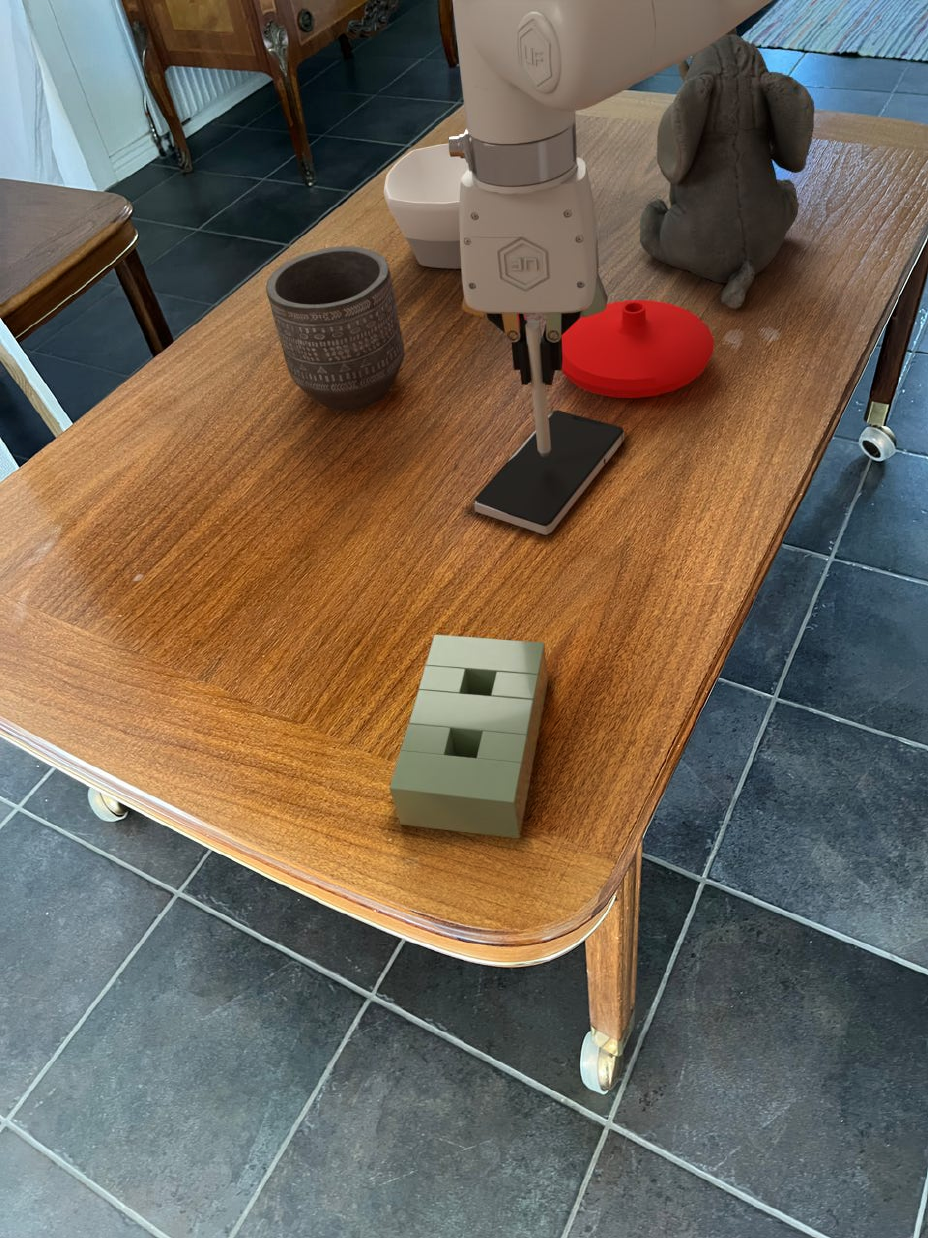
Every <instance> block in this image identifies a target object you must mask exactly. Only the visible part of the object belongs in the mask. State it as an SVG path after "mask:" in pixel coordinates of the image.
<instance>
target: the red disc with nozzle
mask: <svg viewBox="0 0 928 1238" xmlns="http://www.w3.org/2000/svg"><path fill="white" fill-rule="evenodd" d="M714 348H715V339H714V337H713V334H712V332H711V330H710V328H709V327H708V326H707V325H706V324H705V323H704V322H703V321H702V319H700V318H699V316H698V315H696V314H695V313H693V312H691V311H690V310H688V309H686V308H684V307H681V306H678V305H675V304H671V303H669V302H662V301H657V300H651V299H649V300H647V299H643V300H641V299H630V300H623V301H615V302H611V303H607V306H606V309H605V310H604V311H603V312H600V313H597V314H594V315H591V316H588V317H582V318H579V320H578V321H577V322H575V323H574V324H573V325H572V326H571V327H570V328H569V329H568V330H567V331H566V332H565V333H564V334H563V335H562V353H563V363H562V369H561V370H560V371H561V372H562V373H563V375H564V376H565V378H566V379H567V380H569V381H570V382H571V383H572V384H574V385H575V386H577V387H578V388H581V389H582V390H585V391H588V392H590V393H593V394H596V395H600V396H605V397H610V398H619V399H620V398H623V399H640V398H646V397H647V398H648V397H655V396H659V395H663V394H666V393H671V392H674V391H676V390H678V389H680V388H682V387H684V386H686V385H688V384H690V383H692V381H694V380H695V379H696V378H697V377H699V376H700V375H701V374H702V373H703V372H704V370H705V368H706V367H707V365H708V364H709V362H710V360H711V358H712V356H713V354H714Z"/></svg>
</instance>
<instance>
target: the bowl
mask: <svg viewBox="0 0 928 1238" xmlns="http://www.w3.org/2000/svg"><path fill="white" fill-rule="evenodd" d="M468 168H469V167H468V163H466V160H465V158H460V156H459V157H451V156H450V153H449V143H443V144H442V143H441V144H436V145H430V146H426V147H425V146H424V147H422V148H417V149H416V148H415V149H412V150H411V151H409V152H408V153H407V154H405V155H404V156H403V157H402V158H400V159H399V160H398V161H396V162H395V163H394V165H393V166H392V168H391V169H390V170H389V172H388V173H386V177H385V180H384V185H383V186H384V187H383V196H384V200H385V202H386V204H387V205H386V206H387V208H388V209H389V211H390V213H391V214H392V217H393V218H394V220H395V222H396V224H397V226H398V228H399V230H400V232H401V234H402V235H403V237H404V239H405V240H406V242H407V244H408V246H409V249H411V251H412V254H413V256H414V257H415V259H416V261H417V263H418V264H419V265H420V266H423V267H427V268H435V269H446V270H447V269H450V270H461V252H460V226H459V206H460V186H461V179H462V177H463V175H464V174H465V172H466V171H467V169H468Z"/></svg>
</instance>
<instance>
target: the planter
mask: <svg viewBox="0 0 928 1238" xmlns="http://www.w3.org/2000/svg"><path fill="white" fill-rule="evenodd" d="M265 292H266V295H267V299H268V302H269V305H270V310H271V313H272V317H273V321H274V325H275V328H276V331H277V335H278V338H279V342H280V345H281V349H282V352H283V356H284V360H285V364H286V367H287V371H288V373H289V376H290V379H291V380H292V381H293V382H294V383H295V385H296V386H297V387H298V388H299V389H301V390H302V391H303V392H304V393H305V394H306V395H308V397H310V398H311V399H313V401H315V402H316V403H318V404H319V405H320V406H321V407H323V408H325V409H328V410H331V411H337V412H352V411H358V410H362V409H366V408H368V407H371V406H372V405H375V404H376V403H379V402H380V401H381V400H382V399H384V398H385V397H386V396H387V395H388V393H390V391H391V388H392V386H393V385H394V383H395V381H396V378H397V376H398V374H399V372H400V370H401V367H402V364H403V361H404V357H405V346H404V339H403V333H402V329H401V325H400V320H399V314H398V313H399V312H398V307H397V302H396V296H395V295H396V294H395V289H394V286H393V281H392V275H391V271H390V266H389V263H388V261H387V259H386V258H385V257H384V256H383V255H381V254H380V253H378V252H377V251H375V250H372V249H369V248H366V247H362V246H354V245H352V246H351V245H341V246H339V245H338V246H331V247H325V248H321V249H317V250H313V251H310V252H306V253H304V254H301V255H298V256H295V257H294V258H291V259H289V260H288V261H286V262H284V263H283V264H281V265H280V266H279V267H277V268H276V269H275V270H274V271H273V272H272V273H271V274H270V276H269V278H268V279H267V281H266V284H265Z"/></svg>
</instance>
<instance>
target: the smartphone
mask: <svg viewBox="0 0 928 1238" xmlns="http://www.w3.org/2000/svg"><path fill="white" fill-rule="evenodd" d="M548 418H549V430H550V442H551V450H550V454H549V455H548V456H547V457H542V456H541V455H540V452H539V451H538V447H537V437H536V429H535V430H534V431H533V432H532V433H531V434H530V436H529V437H528V438H527V439H526V440H525V441H524V442H523V443H522V445H520V447H519V448H518V449H517V450H516V451H515V452H514V454H513V455H512V456H511V457H510V458H509V460H507V461H506V463H505V464H504V465H503V466H502V467H501V468H500V470H499V471H498V472H497V473H496V474H495V475H494V476H493V477H492V479H491V480H490V481H489V482H488V483H487V484H486V486H484V488H483V489H482V490H481V491H480V493H479V494H477V496H476V497H475V499H474V501H473V505H474V511H475V512H476V513H479V514H481V515H485V516H487V517H490V518H494V519H497V520H500V521H503V522H506V523H507V524H512V525H515V526H517V527H521V528H524V529H527V530H529V531H532V532H536V533H539V534H542V535H548V534H550V533H552V532H553V531H554V530H555V528H556V527H557V526H558V524H559V523H560V522H561V521H562V520H563V518H564V517H565V516H566V515H567V514H568V512H569V510H570V509H571V508H572V507H573V506H574V504H575V503H576V502H577V501H578V500H579V498H580V497H581V495H582V494H583V493H584V492H585V491H586V490H587V488H588V487H589V485H590V484H591V483H592V482H593V480H594V479H595V477H596V476H597V475H598V474H599V473H600V472H601V470H602V469H603V468H604V466H605V465H606V464H607V463H608V462H609V460H610V459H611V458H612V457H613V455H614V454H615V453H616V452H617V450H618V448H619V447H620V446H621V444H622V443H623V442H624V441H625V430H624V428H623V427H622V426H619V425H616V424H612V423H611V424H610V423H608V422H604V421H600V420H596V419H592V418H588V417H586V416H582V415H577V414H573V413H571V412H567V411H563V410H559V409H558V410H553V411H550V413H548Z"/></svg>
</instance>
